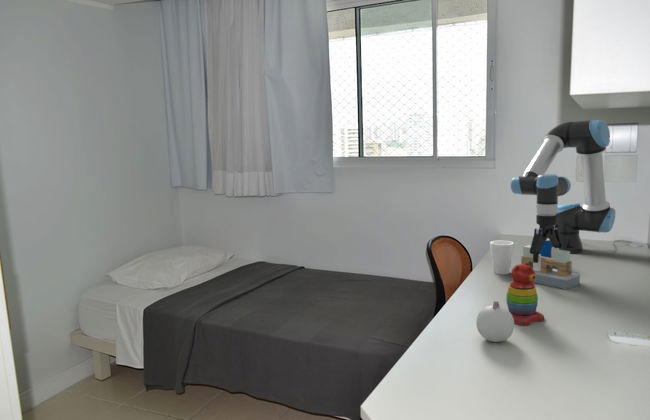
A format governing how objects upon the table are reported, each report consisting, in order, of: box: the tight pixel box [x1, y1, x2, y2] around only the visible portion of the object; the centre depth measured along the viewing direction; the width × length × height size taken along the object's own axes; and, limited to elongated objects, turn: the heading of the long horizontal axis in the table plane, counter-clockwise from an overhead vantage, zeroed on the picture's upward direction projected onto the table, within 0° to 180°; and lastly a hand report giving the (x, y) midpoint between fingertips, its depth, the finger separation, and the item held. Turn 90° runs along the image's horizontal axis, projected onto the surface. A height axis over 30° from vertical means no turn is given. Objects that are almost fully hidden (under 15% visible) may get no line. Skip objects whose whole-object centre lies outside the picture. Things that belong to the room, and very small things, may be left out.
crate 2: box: [554, 250, 571, 263], centre depth 191 cm, size 4×4×4 cm
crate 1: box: [522, 244, 533, 258], centre depth 201 cm, size 4×4×4 cm
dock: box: [532, 268, 581, 290], centre depth 197 cm, size 10×22×4 cm, turn 37°
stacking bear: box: [505, 263, 546, 326], centre depth 158 cm, size 11×10×18 cm
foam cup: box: [489, 239, 515, 276], centre depth 211 cm, size 10×9×13 cm
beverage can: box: [540, 238, 553, 258], centre depth 219 cm, size 6×6×12 cm
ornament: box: [475, 300, 515, 343], centre depth 143 cm, size 10×10×12 cm
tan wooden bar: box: [520, 255, 573, 277], centre depth 197 cm, size 5×18×5 cm, turn 37°
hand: (546, 267), depth 197 cm, fingers open, 13 cm apart
